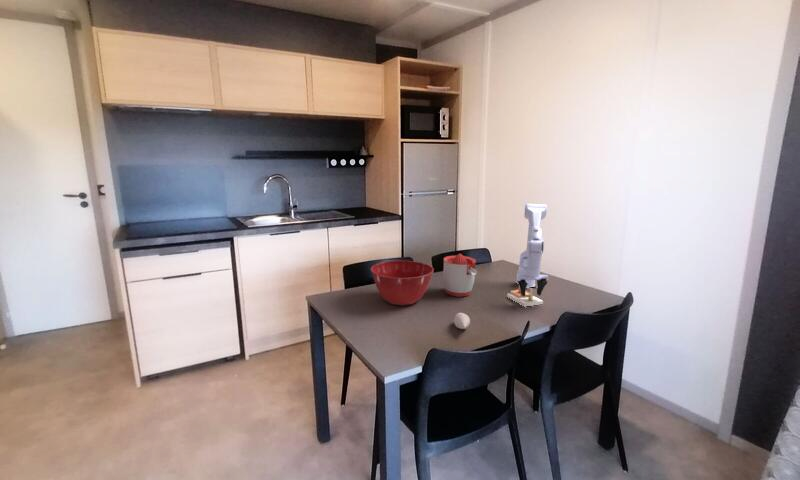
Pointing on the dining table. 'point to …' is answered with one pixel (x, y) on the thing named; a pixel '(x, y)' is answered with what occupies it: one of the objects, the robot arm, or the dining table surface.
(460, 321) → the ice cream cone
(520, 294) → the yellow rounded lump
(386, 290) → the mixing bowl
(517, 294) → the cover
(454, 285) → the citrus juicer
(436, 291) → the dining table surface
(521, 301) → the latch box
